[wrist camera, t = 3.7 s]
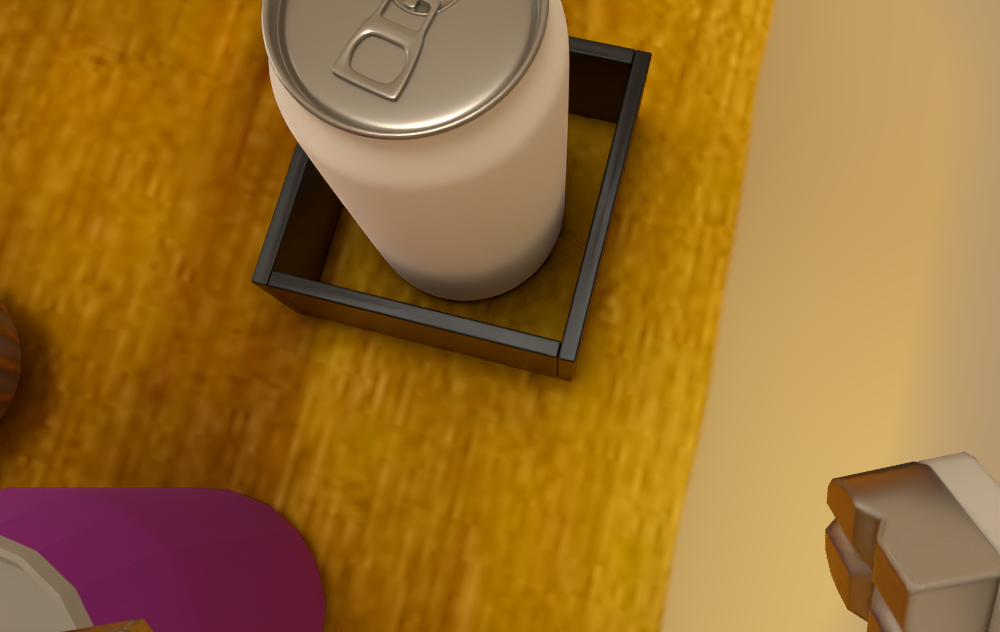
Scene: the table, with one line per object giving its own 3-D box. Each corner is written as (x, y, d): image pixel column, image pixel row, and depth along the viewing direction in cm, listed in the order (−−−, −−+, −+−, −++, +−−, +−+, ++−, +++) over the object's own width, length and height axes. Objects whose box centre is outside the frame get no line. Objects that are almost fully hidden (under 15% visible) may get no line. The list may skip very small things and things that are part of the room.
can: (597, 169, 27) (629, -72, 15) (509, 338, 26) (472, 216, 14) (430, 93, 28) (341, -187, 16) (339, 253, 27) (176, 75, 15)
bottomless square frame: (572, 381, 26) (575, 363, 22) (294, 311, 27) (250, 281, 23) (638, 113, 28) (652, 52, 24) (375, 57, 29) (347, -10, 25)
